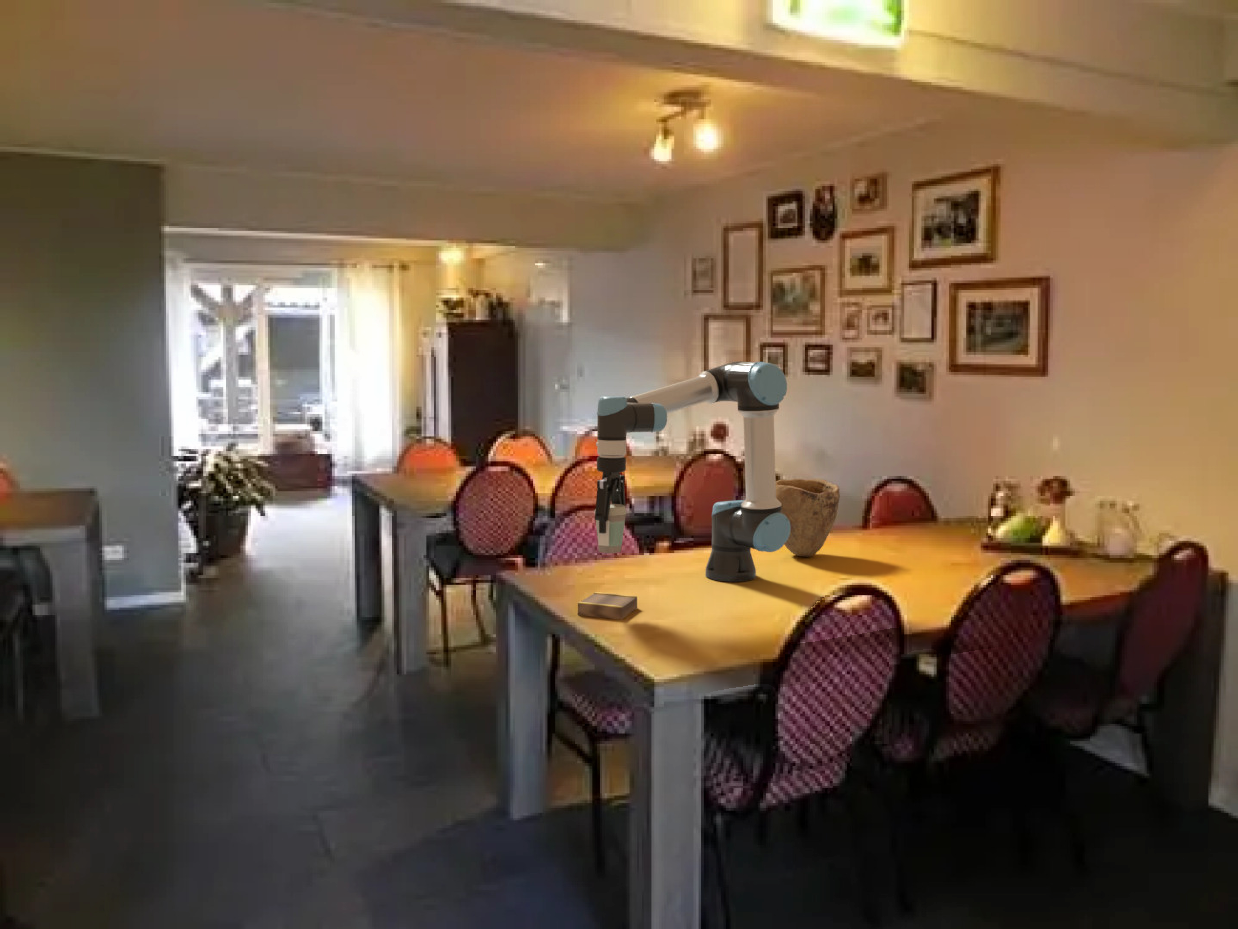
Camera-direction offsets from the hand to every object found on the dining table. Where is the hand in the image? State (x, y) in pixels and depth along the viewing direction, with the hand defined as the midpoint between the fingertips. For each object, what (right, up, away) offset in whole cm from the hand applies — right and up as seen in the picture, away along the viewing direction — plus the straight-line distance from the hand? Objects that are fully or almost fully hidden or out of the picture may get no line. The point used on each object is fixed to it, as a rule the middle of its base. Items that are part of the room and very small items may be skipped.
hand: (610, 542), depth 262 cm
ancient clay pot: (+63, -10, +70) cm, 95 cm away
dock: (-1, -18, 0) cm, 18 cm away
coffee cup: (0, -3, 0) cm, 3 cm away
